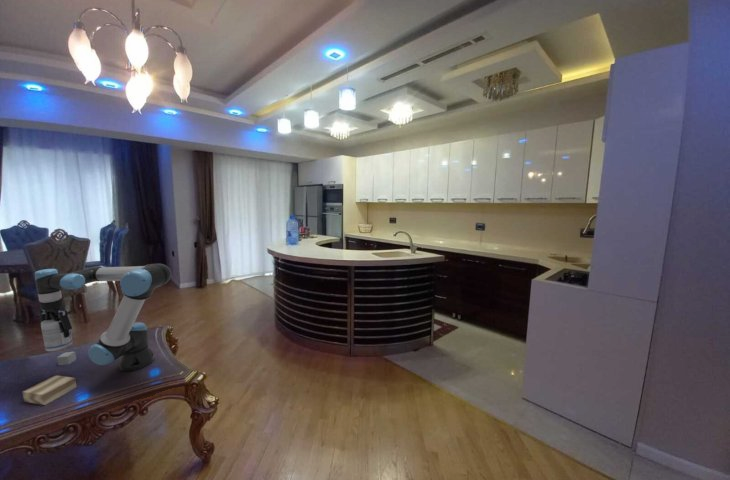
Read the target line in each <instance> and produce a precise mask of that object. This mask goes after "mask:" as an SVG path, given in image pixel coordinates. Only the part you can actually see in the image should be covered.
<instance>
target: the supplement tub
mask: <svg viewBox="0 0 730 480" xmlns="http://www.w3.org/2000/svg"><path fill="white" fill-rule="evenodd" d="M58 318H59V317H58ZM58 322H61V321H54V320H53V319H50V320H44V321H42V322H41V328H40V329H41V334H42V339H43V343H44V344H43V346H44V349H45V351H47V352H56V351H60V350H63V349H66V348H68V347H69V346H71V345H72V344H73V338H72V329H70V330H69V336H70V342H69V343H66V344H63V343H62V338H61V333H60V332H61V329H60V327H59V323H58Z"/></svg>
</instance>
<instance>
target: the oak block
mask: <svg viewBox="0 0 730 480" xmlns="http://www.w3.org/2000/svg"><path fill="white" fill-rule="evenodd" d="M74 389H77V381H76V377H73V376H72V377H70V376H64V375H54V376H52V377H49V378H48V379H45V380H44V381H41V382H38V383H37V384H35V385H33V386H31V387H30V388H27V389H26V390H23V391H22V397H23V400H24V403H29V404H36V405H44V406H46V405H48V404H50V403H51V402H53V401H55V400H57V399H58V398H60V397H62V396H63V395H65V394H67V393H69V392H71V391H72V390H74Z"/></svg>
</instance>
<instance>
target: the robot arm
mask: <svg viewBox="0 0 730 480" xmlns="http://www.w3.org/2000/svg"><path fill="white" fill-rule="evenodd" d="M171 278H172V271H171V268H170V267H169V266H168V265H166V264H163V263H149V264H146V265H137V266H104V265H96V266H93V267H88V268H84V269H81V270H77V271H73V272H68V273H59V272H58V269H57V268H46V269H40V270H37V271H35V272H34V281H35V285H36V292H37V297H38V301H39V307H40V310H39V315H40V317H39V319H40V320H39V322H40V323H39V327H40V328H39V329H41V322H42V321H44V320H50V319H53V320H54V321H61V322H58V323H59V327H60V329H61V332H60V333H61V338H62V343H63V344H66V343H69V342H70V336H69V330H70V329H71V330H73V326H72V323H71V322H70V319H69V316H68V311H67V310H62V309H61V308H62V307H63V306H64V301H63V298H62V297H63V296H62V291H61V290H77V289H80V288H81V287H83V286H84V285H87V284H91V283H93V282H119V287H120V288H119V289H120V291H121V293H122V295H123V297H122V299H121V301H120V303H119V305H118V308H117V310H116V312H115V314H114V316H113V318H112V320H111V323H110V324H109V327H108V329H107V330H106V331H104V332H103V333H102V334H101V335H100V337H99V339H98V341H97V343H95V344H92V345H91V346H90V347H89V348H88V350H87V355H88V357H89V359H90V360H91V361H92V362H93V363H94V364H96V365H98V366H107V365H108V364H111V363H113V362H114V361H116V360H118V359H119V358H120V361H119V365H118V366H119V367H118V368H119V370H120V371H122V372H131V371H132V372H133V371H137V370H139V369H142V368H145V367H147V366H149V365H150V364H151V363H152V362H154V360H155V354H154V352H153V351H152V349H151V348H150V346H149V345H150V344H149V336H148V328H147V324H145V322H139V321H138V322H136V320H137V318H138V315H139V314H140V311H141V309H142V307H143V305H144V303H145V301H146V300H148V299H151V297H152V294H153V293H154V291H155V289H157V288H160V287H162V286H164V285H166V284H167V283H168V282H169V281H170V280H171ZM58 317H59V318H58Z"/></svg>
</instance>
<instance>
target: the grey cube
mask: <svg viewBox="0 0 730 480" xmlns="http://www.w3.org/2000/svg"><path fill="white" fill-rule="evenodd" d="M56 360H57V365H58V366H67V365H71V364H72V363H73V362H75V361H76V360H77V355H76V351H68V352H67V351H66V352H63V353H62V354H60V355H58V356H57V357H56Z"/></svg>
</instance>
